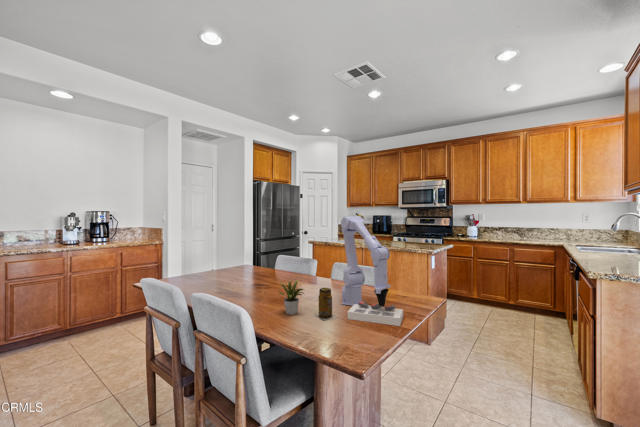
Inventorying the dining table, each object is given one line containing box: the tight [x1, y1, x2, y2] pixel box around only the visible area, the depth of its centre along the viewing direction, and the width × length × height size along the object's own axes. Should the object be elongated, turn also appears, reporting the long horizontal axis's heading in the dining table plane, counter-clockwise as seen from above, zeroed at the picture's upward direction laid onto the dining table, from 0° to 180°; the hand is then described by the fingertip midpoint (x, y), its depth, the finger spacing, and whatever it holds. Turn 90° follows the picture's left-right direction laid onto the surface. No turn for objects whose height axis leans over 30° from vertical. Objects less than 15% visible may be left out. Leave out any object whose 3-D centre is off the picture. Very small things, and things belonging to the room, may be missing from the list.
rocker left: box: [358, 301, 370, 308], centre depth 130 cm, size 4×3×2 cm
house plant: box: [277, 277, 305, 316], centre depth 132 cm, size 14×14×16 cm
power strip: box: [347, 304, 404, 327], centre depth 127 cm, size 22×15×4 cm
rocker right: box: [384, 304, 396, 311], centre depth 125 cm, size 4×3×2 cm
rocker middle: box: [370, 303, 382, 309], centre depth 127 cm, size 4×3×2 cm
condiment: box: [314, 287, 339, 321], centre depth 128 cm, size 7×8×12 cm
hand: (381, 305), depth 126 cm, fingers closed, pressing on rocker middle
